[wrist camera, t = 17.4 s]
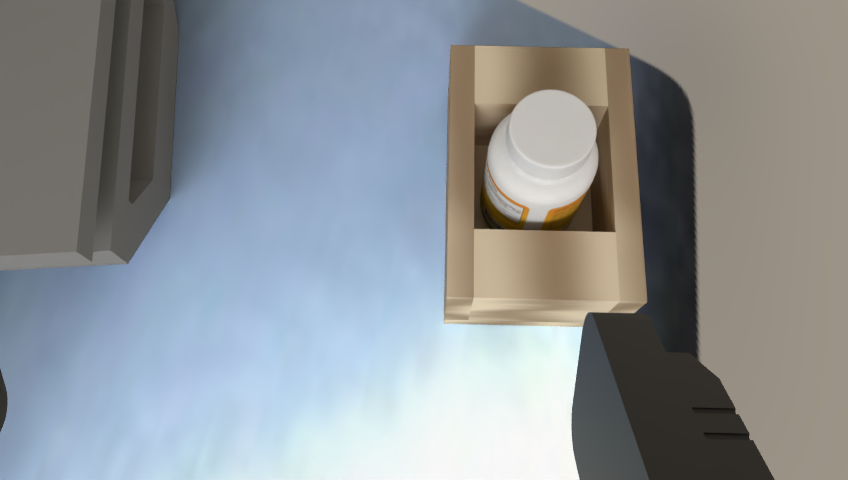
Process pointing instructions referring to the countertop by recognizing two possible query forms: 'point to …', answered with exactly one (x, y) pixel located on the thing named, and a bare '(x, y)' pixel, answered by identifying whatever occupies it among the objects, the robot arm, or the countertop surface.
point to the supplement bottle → (539, 163)
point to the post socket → (535, 249)
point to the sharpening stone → (84, 128)
